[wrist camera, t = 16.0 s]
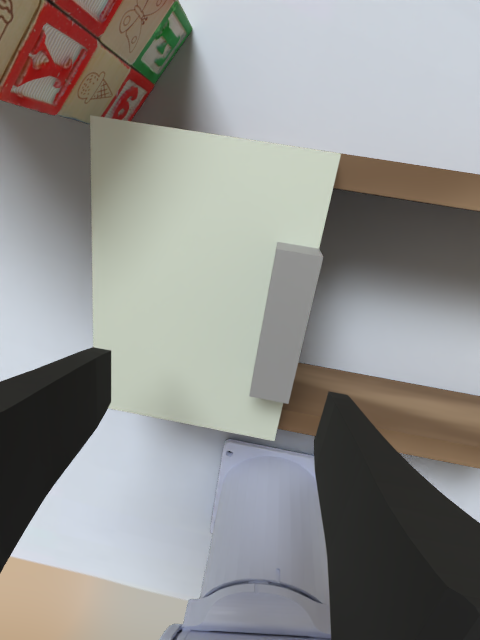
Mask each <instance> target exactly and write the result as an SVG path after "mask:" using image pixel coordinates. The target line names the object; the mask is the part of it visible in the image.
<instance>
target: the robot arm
mask: <svg viewBox="0 0 480 640" xmlns="http://www.w3.org/2000/svg"><path fill="white" fill-rule="evenodd" d="M110 403H111V350H105V349H100V348H95V347H93V348H90V349H86V350H84V351H81V352H78V353H75V354H73V355H70V356H68V357H65V358H63V359H60V360H58V361H55V362H53V363H50V364H47V365H45V366H42V367H40V368H37V369H35V370H32V371H29V372H26V373H23V374H21V375H18V376H15V377H12V378H9V379H7V380H4V381H1V382H0V573H1V571H2V569H3V567H4V565H5V564H6V562H7V560H8V558H9V557H10V555H11V553H12V552H13V550H14V548H15V546H16V545H17V543H18V541H19V540H20V538H21V536H22V534H23V533H24V531H25V529H26V528H27V526H28V524H29V523H30V521H31V519H32V518H33V516H34V515H35V513H36V511H37V510H38V508H39V506H40V505H41V503H42V502H43V500H44V498H45V497H46V495H47V494H48V493H49V491H50V490H51V488H52V487H53V485H54V484H55V483H56V481H57V480H58V479H59V477H60V476H61V475H62V473H63V472H64V471H65V469H66V468H67V467H68V466H69V464H70V463H71V462H72V460H73V459H74V458H75V456H76V455H77V454H78V452H79V451H80V450H81V448H82V447H83V446H84V444H85V443H86V442H87V440H88V439H89V438H90V436H91V435H92V434H93V432H94V431H95V429H96V428H97V427H98V425H99V423H100V421H101V420H102V418H103V416H104V414H105V413H106V411H107V409H108V407H109V405H110ZM227 451H231V452H232V453H229V452H227ZM210 532H211V534H212V539H211V544H210V549H209V554H208V559H207V564H206V569H205V574H204V579H203V584H202V589H201V593H200V598H199V599H190V600H188V604H187V609H186V613H185V617H184V622H183V624H172V625H171V626H169V627H168V628H167V629H166V630H165V631H164V633H163V635H162V636H161V638H160V639H159V640H480V523H479V522H477V521H476V520H475V519H473V518H472V517H471V516H470V515H468V514H467V513H466V512H464V511H463V510H462V509H461V508H459V507H458V506H457V505H455V504H454V503H453V502H452V501H450V500H449V499H448V498H447V497H446V496H444V495H443V494H442V493H441V492H440V491H438V490H437V489H436V488H435V487H434V486H433V485H432V484H431V483H429V482H428V481H427V480H426V479H425V478H424V477H423V476H422V475H420V474H419V473H418V472H417V471H416V470H415V469H414V468H413V467H412V466H411V465H410V464H409V463H408V462H407V461H406V460H405V459H404V458H403V457H402V456H401V455H400V454H399V453H398V452H397V451H396V450H395V449H394V448H393V447H392V445H391V444H390V443H389V442H388V441H387V440H386V439H385V438H384V437H383V436H382V434H381V433H380V432H379V431H378V430H377V429H376V428H375V426H374V425H373V424H372V423H371V422H370V420H369V419H368V418H367V417H366V416H365V415H364V413H363V412H362V411H361V410H360V408H359V407H358V406H357V405H356V404H355V403H354V401H353V400H352V399H351V398H350V397H349V396H348V395H346V394H341V393H335V392H330V391H328V395H327V398H326V402H325V405H324V409H323V412H322V416H321V419H320V422H319V426H318V429H317V433H316V436H315V440H314V456H312V455H307V454H302V453H297V452H292V451H287V450H282V449H277V448H272V447H267V446H262V445H257V444H252V443H247V442H242V441H237V440H232V439H229V440H226V441H225V443H224V446H223V452H222V458H221V464H220V470H219V477H218V483H217V489H216V495H215V501H214V507H213V513H212V519H211V525H210Z"/></svg>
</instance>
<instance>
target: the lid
mask: <svg viewBox="0 0 480 640" xmlns="http://www.w3.org/2000/svg"><path fill="white" fill-rule="evenodd" d="M90 147H91V221H92V295H93V347H95V348H100V349H105V350H111V403H110V405H109V407H108V408H109V409H115V410H120V411H125V412H130V413H135V414H140V415H145V416H150V417H155V418H160V419H165V420H170V421H175V422H180V423H185V424H190V425H195V426H200V427H205V428H210V429H215V430H220V431H225V432H230V433H235V434H240V435H245V436H250V437H255V438H260V439H265V440H270V441H275V437H276V432H277V428H278V424H279V419H280V415H281V411H282V406H283V403H286V404H288V403H289V399H290V395H291V391H292V387H293V383H294V378H295V374H296V370H297V366H298V362H299V357H300V353H301V349H302V345H303V341H304V336H305V332H306V328H307V324H308V320H309V315H310V311H311V307H312V303H313V299H314V295H315V290H316V286H317V282H318V278H319V274H320V269H321V265H322V261H323V255H322V253H321V251H320V250H319V247H320V243H321V238H322V234H323V230H324V225H325V221H326V217H327V212H328V208H329V204H330V199H331V195H332V191H333V186H334V182H335V178H336V174H337V169H338V165H339V161H340V156H341V154H340V153H334V152H327V151H321V150H314V149H308V148H301V147H295V146H288V145H282V144H275V143H268V142H262V141H255V140H249V139H242V138H236V137H229V136H223V135H216V134H210V133H203V132H196V131H190V130H183V129H177V128H170V127H164V126H157V125H151V124H144V123H138V122H131V121H124V120H118V119H111V118H105V117H98V116H92V115H90Z"/></svg>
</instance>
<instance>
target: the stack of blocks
mask: <svg viewBox="0 0 480 640" xmlns="http://www.w3.org/2000/svg"><path fill="white" fill-rule="evenodd" d="M191 31H192V26H191V24H190V23H189V21H188V18H187V16H186V14H185V12H184V11H183V9H182V7H181V5H180V3H179V1H178V0H0V100H2V101H5V102H8V103H12V104H15V105H18V106H21V107H25V108H29V109H31V110H35V111H39V112H42V113H47V114H50V115H59V116H62V117H65V118H70V119H74V120H77V121H80V122H83V123H86V124H90V115H92V116H98V117H105V118H111V119H118V120H125V121H131V120H132V119H133V117H134V116H135V114H136V113H137V111H138V110H139V108H140V107H141V105H142V104H143V102H144V101H145V99H146V98H147V97H148V95H149V93H150V92H151V91H152V89H153V88H154V85H155V83H156V82H157V80H158V79H159V77H160V76H161V74H162V73H163V71H164V70H165V68H166V67H167V66H168V64H169V63H170V61H171V60H172V58H173V57H174V56H175V54H176V53H177V51H178V50H179V48H180V47H181V45H182V44H183V42H184V41H185V39H186V38H187V37H188V35H189V34H190V33H191Z"/></svg>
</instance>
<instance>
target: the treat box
mask: <svg viewBox="0 0 480 640" xmlns="http://www.w3.org/2000/svg"><path fill="white" fill-rule="evenodd" d="M124 121H125V120H124ZM170 128H171V127H170ZM183 130H184V129H183ZM196 132H197V131H196ZM242 139H243V138H242ZM255 141H256V140H255ZM268 143H269V142H268ZM314 150H315V149H314ZM327 152H328V151H327ZM340 154H341V153H340ZM333 189H339V190H345V191H352V192H358V193H364V194H371V195H377V196H383V197H390V198H396V199H402V200H408V201H415V202H421V203H427V204H434V205H440V206H446V207H453V208H459V209H465V210H472V211H478V212H480V175H478V174H472V173H465V172H459V171H452V170H446V169H439V168H432V167H426V166H419V165H413V164H406V163H400V162H393V161H387V160H380V159H374V158H367V157H360V156H354V155H347V154H341V156H340V161H339V165H338V169H337V174H336V178H335V182H334V186H333ZM328 391H330V392H335V393H341V394H346V395H348V396H349V397H350V398H351V399H352V400H353V401H354V403H355V404H356V405H357V406H358V407H359V408H360V410H361V411H362V412H363V413H364V415H365V416H366V417H367V418H368V419H369V420H370V422H371V423H372V424H373V425H374V426H375V428H376V429H377V430H378V431H379V432H380V433H381V434H382V436H383V437H384V438H385V439H386V440H387V441H388V442H389V443H390V444H391V445H392V447H393V448H394V449H395V450H396V451H397V452H399V453H404V454H409V455H414V456H419V457H424V458H429V459H434V460H439V461H444V462H449V463H454V464H459V465H465V466H470V467H475V468H480V396H475V395H470V394H465V393H459V392H454V391H449V390H443V389H438V388H432V387H427V386H422V385H416V384H411V383H406V382H400V381H395V380H389V379H384V378H379V377H373V376H368V375H362V374H357V373H352V372H346V371H341V370H336V369H330V368H325V367H319V366H314V365H309V364H303V363H298V366H297V370H296V374H295V378H294V383H293V387H292V391H291V395H290V399H289V403H288V404H286V403H283V406H282V411H281V415H280V419H279V424H278V428H277V429H282V430H287V431H292V432H297V433H302V434H307V435H312V436H316V433H317V429H318V426H319V422H320V419H321V416H322V412H323V409H324V405H325V402H326V398H327V395H328Z"/></svg>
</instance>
